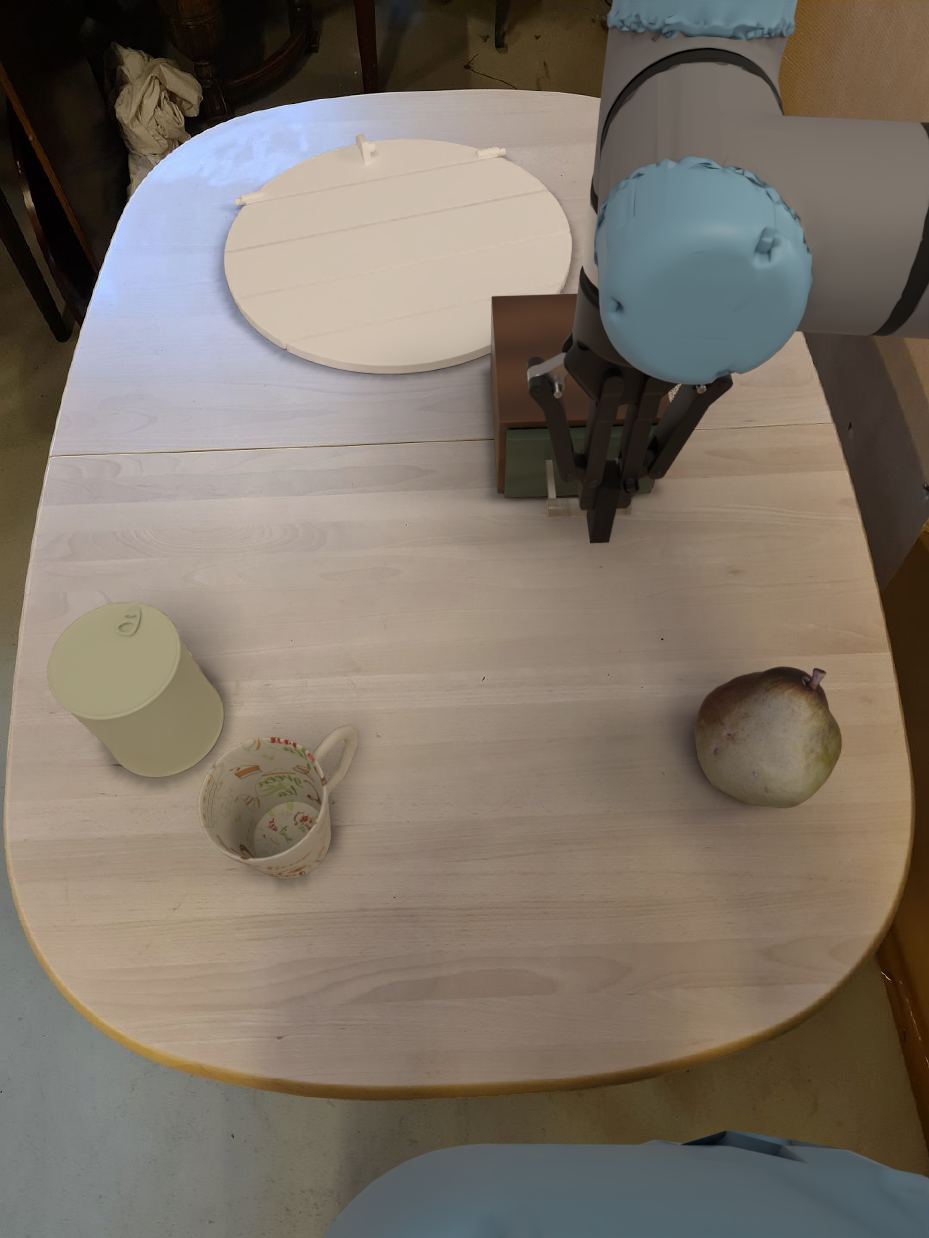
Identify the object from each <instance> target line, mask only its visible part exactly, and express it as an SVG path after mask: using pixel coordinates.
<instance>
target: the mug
mask: <svg viewBox="0 0 929 1238" xmlns="http://www.w3.org/2000/svg"><path fill="white" fill-rule="evenodd" d="M342 742H344V748H343V751H342V755H341V758H340V761H339V763H338V765H337V766H336V768H334V769H335V770H334V771H333V773H332V774H331V776H330V777H329V778H328V780H326V777H325V773H324V771H323V769H322V767H321V765H320V764H321V762H322V761H323V760H324V758H325V757H326V756H327V755H328V753H330V751H331V750H332V749H333V748H334V747H336V745H338V744H339V743H342ZM358 743H359V731H358V729H357V727H356V726H355V725H352V724H345V725H342V726H339V727H337V728H335V729H334V730H332V731H331V732H330V733H329V734H328V735H327V736H326V737H325V738H324V739H323V740H322V742H321V743H320V744H319V745H318V746H317V747H316V748H315V749H314V751H313V752H312V753H311V752H310V751H308V750H307V749H306V748H305V747H304V746H302V745H301V744H298V743H297V742H295V741H292V740H290V739H287V738H283V737H276V736H275V737H274V736H265V737H264V736H263V737H257V738H252V739H248V740H246V741H243V742H240V743H239V744H237V745H235V746H233V747H232V748H230V749H228V750H227V751H226V752H224V753H223V754H222V755H221V756H220V757H219V758H218V759H217V760H216V761H215V762H214V763H213V764H212V765H211V767H210V768H209V770H208V771H207V773H206V775H205V776H204V779H203V781H202V783H201V787H200V789H199V794H198V799H197V814H198V820H199V823H200V826H201V829H202V831H203V834H204V835H205V837H206V838H207V840H208V841H209V843H210V844H211V845H212V846H213V847H214V848H216V850H218V851H219V852H220V853H222V854H223V855H224V856H226V857H227V858H229V859H232V860H233V861H235V862H238V863H240V864H243V865H245V866H247V867H250V868H252V869H255V870H256V871H258V872H261V873H263V874H264V875H265V874H266V875H268V876H269V877H273V878H275V879H276V878H277V879H281V880H282V879H283V880H290V879H297V878H300V877H303V876H306V875H307V874H309V873H311V872H312V871H313V870H315V869H316V868H317V867H318V866H319V865H320V864H321V863H322V861H323V860H324V859H325V857H326V855H327V853H328V852H329V848H330V846H331V840H332V839H331V838H332V827H331V815H330V804H329V795H330V794H331V792H332V791H333V790H334V789H335V788H336V787H337V786H338V785H339V784H340V782H342V780H343V779H344V778H345V776H346V774H347V773H348V771H349V769H350V767H351V764H352V762H353V759H354V757H355V754H356V751H357V747H358Z"/></svg>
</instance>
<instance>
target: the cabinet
mask: <svg viewBox="0 0 929 1238" xmlns="http://www.w3.org/2000/svg"><path fill="white" fill-rule="evenodd" d="M576 301H577V293H560V294H546V295H514V296H492V297H491V353H490V360H489V361H490V364H489V365H490V366H489V367H490V368H489V371H490V373H489V375H490V390H491V406H492V407H491V409H492V426H493V441H494V443H493V444H494V457H495V458H494V460H495V477H496V493H497V494H504V477H505V451H506V430H509V428H526V427H547V423H546V419H545V415H544V411H543V410H542V409H541V408H540V406H539V405H538V404H537V403H536V402H535V401H534V399H533V398H532V397H531V396H530V394H529V389H528V377H527V367H526V364H527V361H528V360H529V359H530V358H532V357H541V358H543V359H544V360H545V361H547V360H549V359H551V358H553V357H555V356H557V355H559V354H561V353H562V347H563V343H564V341H565V340H566V339H567V337H568V336H569V335H570V333H571V332H572V329H573V326H574V318H575V310H576ZM669 393H670V392H668V393H667V394H666V395H665V396H664V397H662V398H661V401H660V405H659V409H658V413H657V417H656V420H653V423H652V425H658V423H659V421H660V420H661V418H662V416H663V415H664V413H665V411H666V409H667V408H668V406H669V404H670V403H671V398H670V394H669ZM562 396H563V400H564V405H565V410H566V414H567V419H568V424H569V426H586V425H587V418H588V412H589V406H590V399H591V398H590V397H589V396H588V395H587V394H586V393H585V391H584V390H583V389H582V388H581V387H580V386H579V384H578V383H577V382H576V381H575V380H574V379H573V377H572V376H571V375H570V374H569V375H567V377H566V389H565V390H564V391H563V392H562ZM627 406H628V404H625V405H620V406H619V407H618V412H617V417H616V421H615V422H613V425H621V424H624V421H625V416H626V411H627ZM655 482H656V480H654V481H653V484H652V488H651V489H654V486H655Z"/></svg>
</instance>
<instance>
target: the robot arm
mask: <svg viewBox="0 0 929 1238" xmlns="http://www.w3.org/2000/svg"><path fill="white" fill-rule="evenodd" d="M797 5H798V0H612V3H611V9H610V10H609V12H608V13H607V14H606V17H607V19H606V20H607V21H606V27H607V28H608V33H607V41H606V49H605V57H604V58H605V59H604V67H603V76H602V83H601V93H600V101H599V110H598V120H597V121H598V123H597V131H596V141H595V150H594V152H595V153H594V163H593V174H592V176H591V182H590V188H589V189H590V190H589V199H588V208H587V215H586V221H585V230H584V237H583V244H582V245H583V246H582V253H581V264H582V265H581V268H580V270H579V276H578V277H579V278H578V287H577V292H576V294H577V301H576V310H575V318H574V326H573V329H572V332H571V333H570V335H569V336H568V337H567V339H566V340H565V341H564V343H563V347H562V353H561V354H559V355H557V356H555V357H553V358H551V359H549V360H547V361H545V360H544V359H543V358H541V357H532V358H530V359H529V360H528V361H527V364H526V367H527V377H528V389H529V394H530V396H531V397H532V398H533V399H534V401H535V402H536V403H537V404H538V405H539V406H540V408H541V409H542V410H543V411H544V415H545V419H546V423H547V427H548V431H549V435H550V439H551V443H552V447H553V451H554V455H555V459H556V463H557V467H558V472H559V476H560V479H561V481H563V482H565V483H570V482H573V481H575V480H579V486H578V495H577V498H578V499H579V507H580V509H581V510H587V515H586V516H585V517H586V524H587V531H588V538H589V544H609V543H610V541H611V535H612V531H613V527H614V522H615V519H616V516H615V514H616V509H627V508H628V506H629V505H630V504H631V499H632V500H633V495H635V494H638V493H637V492H638V491H639V490H640V487H639V479H641V478H643V477H647V476H649V478H650V479H653V480H655V481H656V480H661V479H662V478H664V477H665V476H666V474H667V473H668V471H669V469H670V468H671V466H672V465H673V463H674V462H675V460H676V458H677V457H678V456H679V454H680V453H681V451H682V450H683V448H684V447H685V445H686V443H687V441H688V440H689V438H690V437H691V436H692V434H693V433H694V431H695V430H696V428H697V426H698V425H699V424H700V421H701V420H702V419H703V417H704V416H705V414H706V412H707V411H708V409H709V408H710V406H711V405H713V404H714V403H715V402H716V401H718V399H720V398H721V397H722V396H723V395H724V394H726V393H727V392H729V390H731V388H732V387H733V385H734V380H733V375H732V374H738V375H743V374H747V373H750V372H751V371H754V370H756V369H757V368H759V367H760V366H762V365H764V364H765V363H767V362H768V361H769V360H771V358H773V357H774V356H776V354H777V353H779V352H780V351H781V350H782V349H783V348H784V346H786V344H787V343H788V342H789V340H790V339H791V338H792V336H793V335H794V334H795V333H796V332H799V333H801V332H802V333H815V334H816V333H817V334H833V335H834V334H835V335H848V336H849V335H850V336H866V337H867V336H871V337H872V336H873V337H885V338H886V337H888V338H889V337H890V338H900V339H901V338H902V339H903V338H904V339H918V340H919V339H920V340H929V122H928V121H926V122H925V121H903V120H885V119H863V118H862V119H861V118H847V117H846V118H845V117H844V118H843V117H821V116H797V115H785V112H784V111H785V110H784V106H783V101H782V96H781V90H780V83H779V77H780V69H781V63H782V59H783V55H784V52H785V49H786V47H787V43H788V41H789V37H790V35H793V34H794V31H795V30H796V29H795V28H796V25H797V24H796V22H795V16H796V15H795V14H796V9H797ZM569 374H570V375H571V376H572V377H573V379H574V380H575V381H576V382H577V383H578V384H579V386H580V387H581V388H582V389H583V390H584V391H585V393H586V394H587V395H588V396H589V397H590V398H591V399H590V406H589V412H588V418H587V425H586V431H585V437H584V444H583V450H582V449H581V453H576V452H574V447H573V442H572V437H571V433H570V428H569V424H568V419H567V414H566V410H565V405H564V400H563V396H562V392H563V391H564V390H565V389H566V377H567V375H569ZM678 385H680V386H679V387H678V389H677V391H676V393H675V394H674V396H673V398H672V399H671V400H670V404H669V406H668V408H667V409H666V411H665V413H664V415H663V416H662V418H661V420H660V421H659V423H658V425H657V426H656V428H655V430H654V431H653V433H652V435H651V437H650V438H649V435H650V431H651V427H652V423H653V420H656V417H657V413H658V409H659V405H660V401H661V398H662V397H664V396H665V395H666V394H667V393H670V392H671V391H672V390H673V389H675V388H676V387H677V386H678ZM625 404H628V406H627V411H626V416H625V421H624V426H623V431H622V435H621V440H620V445H619V450H618V455H617V456H618V464H617V460H607V461H606V458H607V453H608V448H609V442H610V437H611V432H612V427H613V422H615V421H616V417H617V412H618V407H619V406H620V405H625ZM322 1238H929V1177H927V1176H925V1175H923V1174H919V1173H914V1172H909V1171H904V1170H899V1169H895V1168H892V1167H890V1166H888V1165H885V1164H883V1163H881V1162H878V1161H875V1160H873V1159H871V1158H868V1157H866V1156H864V1155H862V1154H859V1153H857V1152H854V1151H852V1150H850V1149H846V1148H840V1147H835V1146H829V1145H823V1144H818V1143H812V1142H807V1141H803V1140H796V1139H789V1138H784V1137H780V1136H779V1137H778V1136H772V1135H765V1134H760V1133H754V1132H746V1131H741V1130H740V1131H739V1130H723V1131H720V1132H717V1133H713V1134H711V1135H707V1136H704V1137H700V1138H698V1139H694V1140H691V1141H688V1142H685V1143H683V1142H676V1141H670V1140H663V1139H657V1138H656V1139H653V1140H649V1141H646V1142H643V1143H640V1144H604V1143H603V1144H596V1143H594V1144H591V1143H588V1144H587V1143H563V1144H562V1143H475V1144H462V1145H457V1146H452V1147H446V1148H440V1149H435V1150H431V1151H428V1152H426V1153H423V1154H420V1155H418V1156H414V1157H413V1158H409V1159H407V1160H405V1161H403V1162H402V1163H400V1164H398V1165H397V1166H395V1167H393V1168H392V1169H390V1170H388V1171H387V1172H385V1173H384V1174H382V1175H381V1176H379V1177H377V1178H376V1179H374V1180H373V1181H372V1182H370V1183H369V1184H368V1185H367V1186H366V1187H365V1188H364V1189H363V1190H362V1191H360V1192H359V1193H358V1194H357V1195H356V1196H355V1197H353V1198H352V1199H351V1201H350V1202H349V1203H348V1205H346V1206H345V1208H343V1210H341V1212H340V1213H339V1214H338V1215H337V1217H336V1218H335V1219H334V1220H333V1222H332V1223H331V1225H330V1227H329V1228H328V1229H327V1231H326V1232H325V1234H324V1235H323V1237H322Z"/></svg>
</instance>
